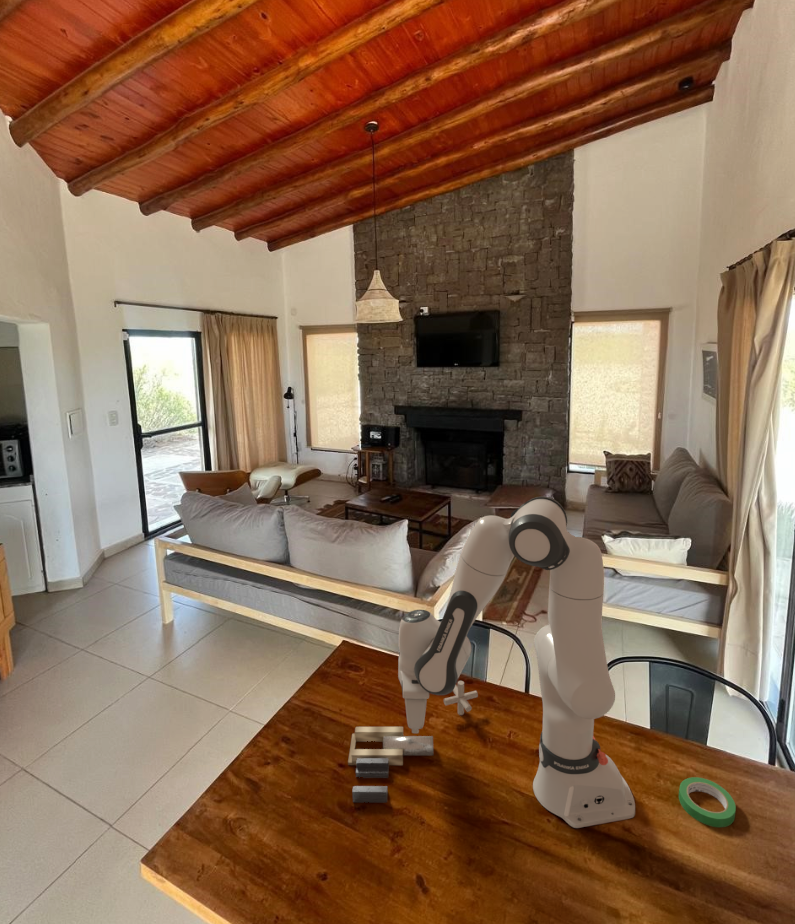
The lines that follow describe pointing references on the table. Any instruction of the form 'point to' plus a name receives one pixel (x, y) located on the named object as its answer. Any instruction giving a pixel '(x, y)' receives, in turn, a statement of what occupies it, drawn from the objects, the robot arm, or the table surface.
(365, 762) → the dark blocks
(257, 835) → the table surface
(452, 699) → the pipe connector
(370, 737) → the beige u-shaped bracket
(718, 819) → the tape roll
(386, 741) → the axle
